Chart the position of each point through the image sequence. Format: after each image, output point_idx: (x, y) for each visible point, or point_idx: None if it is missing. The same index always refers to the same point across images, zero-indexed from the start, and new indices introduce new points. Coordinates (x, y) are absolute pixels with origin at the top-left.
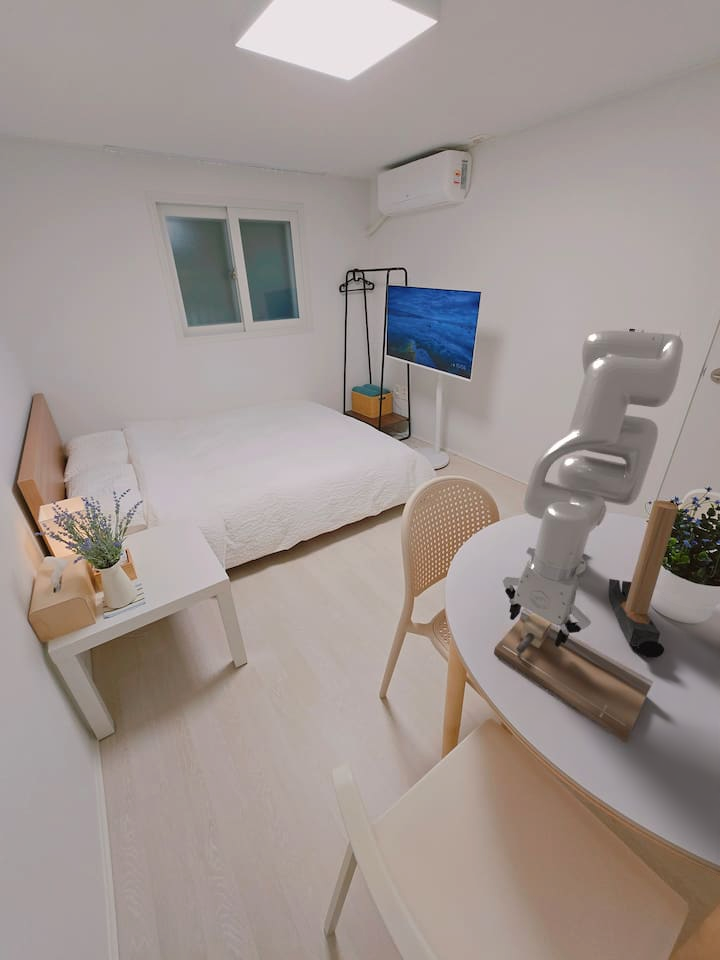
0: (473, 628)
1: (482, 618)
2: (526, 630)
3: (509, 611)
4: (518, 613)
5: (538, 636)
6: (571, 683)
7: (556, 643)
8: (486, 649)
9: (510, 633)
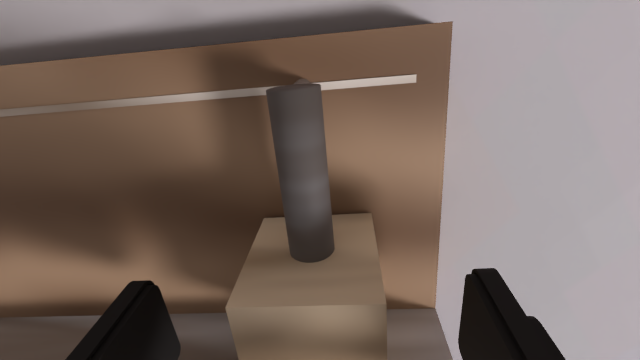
0: (624, 88)
1: (601, 191)
2: (349, 261)
3: (537, 320)
4: (463, 342)
5: (262, 271)
6: (37, 151)
7: (132, 296)
8: (485, 11)
9: (427, 197)
